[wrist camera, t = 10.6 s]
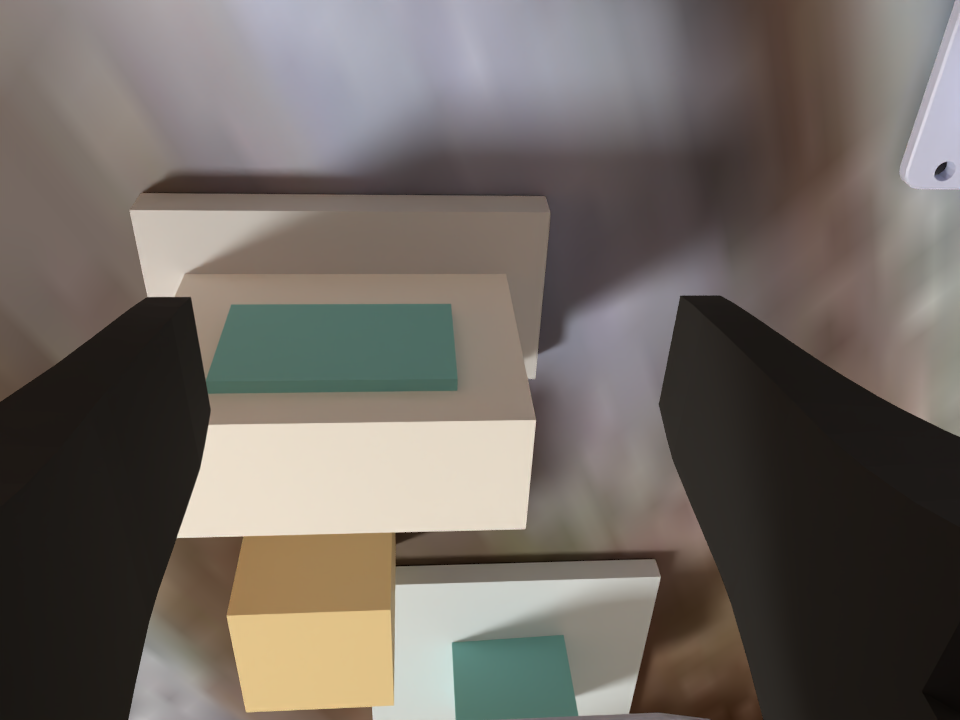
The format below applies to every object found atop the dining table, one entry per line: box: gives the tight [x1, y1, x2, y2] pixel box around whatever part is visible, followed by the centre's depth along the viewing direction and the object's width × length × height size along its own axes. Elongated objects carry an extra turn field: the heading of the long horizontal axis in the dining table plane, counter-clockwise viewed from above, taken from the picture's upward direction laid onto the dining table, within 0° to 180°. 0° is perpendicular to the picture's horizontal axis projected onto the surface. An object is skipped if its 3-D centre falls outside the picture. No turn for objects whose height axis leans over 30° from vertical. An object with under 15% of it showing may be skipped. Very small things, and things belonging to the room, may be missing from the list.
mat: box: [372, 559, 661, 720], centre depth 32 cm, size 10×10×1 cm
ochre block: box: [227, 532, 396, 712], centre depth 24 cm, size 4×4×6 cm
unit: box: [130, 193, 551, 538], centre depth 20 cm, size 10×5×7 cm, turn 88°
